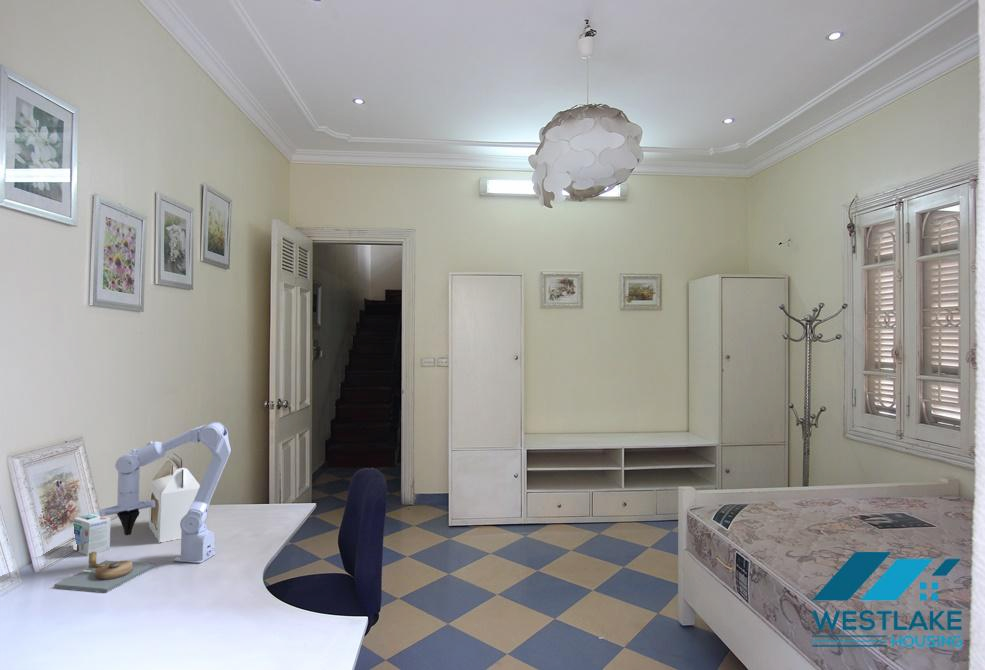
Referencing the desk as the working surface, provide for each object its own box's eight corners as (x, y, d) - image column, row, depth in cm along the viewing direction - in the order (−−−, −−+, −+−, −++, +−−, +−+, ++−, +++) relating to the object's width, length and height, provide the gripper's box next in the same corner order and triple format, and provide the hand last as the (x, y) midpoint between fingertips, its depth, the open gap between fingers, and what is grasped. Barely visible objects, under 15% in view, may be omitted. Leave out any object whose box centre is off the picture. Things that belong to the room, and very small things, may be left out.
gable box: (148, 527, 200) (151, 453, 200) (188, 519, 208) (190, 449, 209) (159, 544, 183) (161, 463, 184) (201, 535, 192) (203, 458, 192)
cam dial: (139, 567, 161) (139, 549, 161) (115, 580, 152) (116, 560, 152) (101, 565, 162) (102, 547, 162) (76, 578, 153) (76, 558, 153)
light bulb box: (71, 550, 176) (72, 517, 177) (94, 543, 182) (95, 512, 182) (88, 556, 171) (89, 523, 172) (110, 549, 177) (111, 517, 178)
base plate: (154, 567, 163) (154, 563, 164) (106, 592, 147) (107, 588, 147) (106, 563, 166) (106, 559, 166) (54, 587, 149) (54, 583, 149)
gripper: (103, 498, 158) (102, 543, 158) (158, 489, 169) (157, 531, 169) (98, 494, 163) (97, 537, 163) (152, 485, 174) (151, 526, 174)
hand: (127, 534), depth 166 cm, fingers closed
